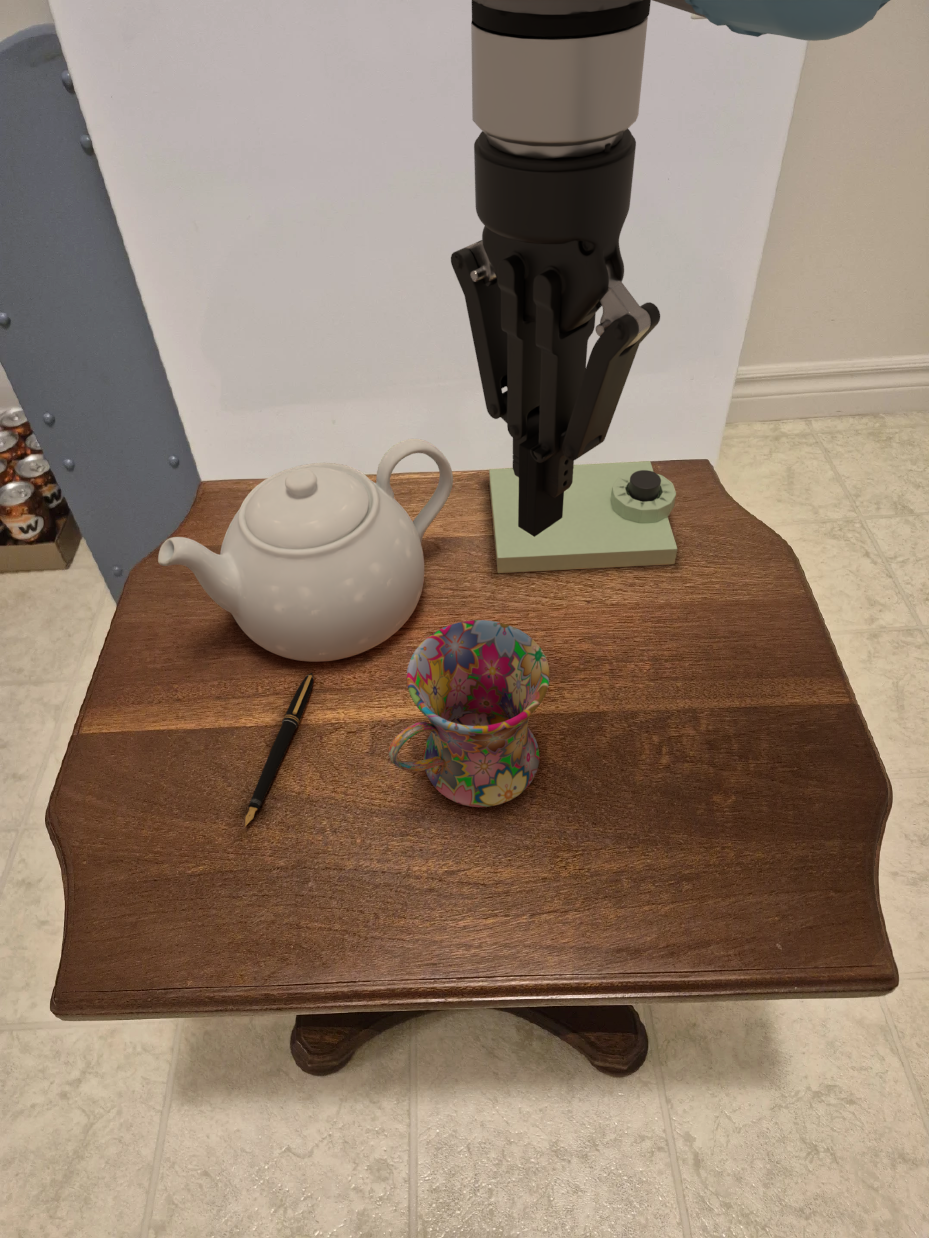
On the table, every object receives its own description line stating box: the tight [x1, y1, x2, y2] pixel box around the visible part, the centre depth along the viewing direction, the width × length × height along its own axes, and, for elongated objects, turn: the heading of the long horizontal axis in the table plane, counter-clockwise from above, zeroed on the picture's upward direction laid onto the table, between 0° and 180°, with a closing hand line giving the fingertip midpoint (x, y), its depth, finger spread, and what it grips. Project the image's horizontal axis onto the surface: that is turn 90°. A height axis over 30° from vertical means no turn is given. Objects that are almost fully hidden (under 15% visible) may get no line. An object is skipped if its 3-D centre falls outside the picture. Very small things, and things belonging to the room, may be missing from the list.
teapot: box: [157, 438, 454, 663], centre depth 70 cm, size 19×18×14 cm
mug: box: [388, 619, 551, 808], centre depth 58 cm, size 12×9×11 cm
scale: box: [488, 460, 678, 574], centre depth 79 cm, size 17×13×4 cm
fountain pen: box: [244, 672, 315, 828], centre depth 63 cm, size 14×1×2 cm, turn 168°
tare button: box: [628, 470, 661, 502], centre depth 78 cm, size 3×3×2 cm
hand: (540, 521), depth 56 cm, fingers closed
